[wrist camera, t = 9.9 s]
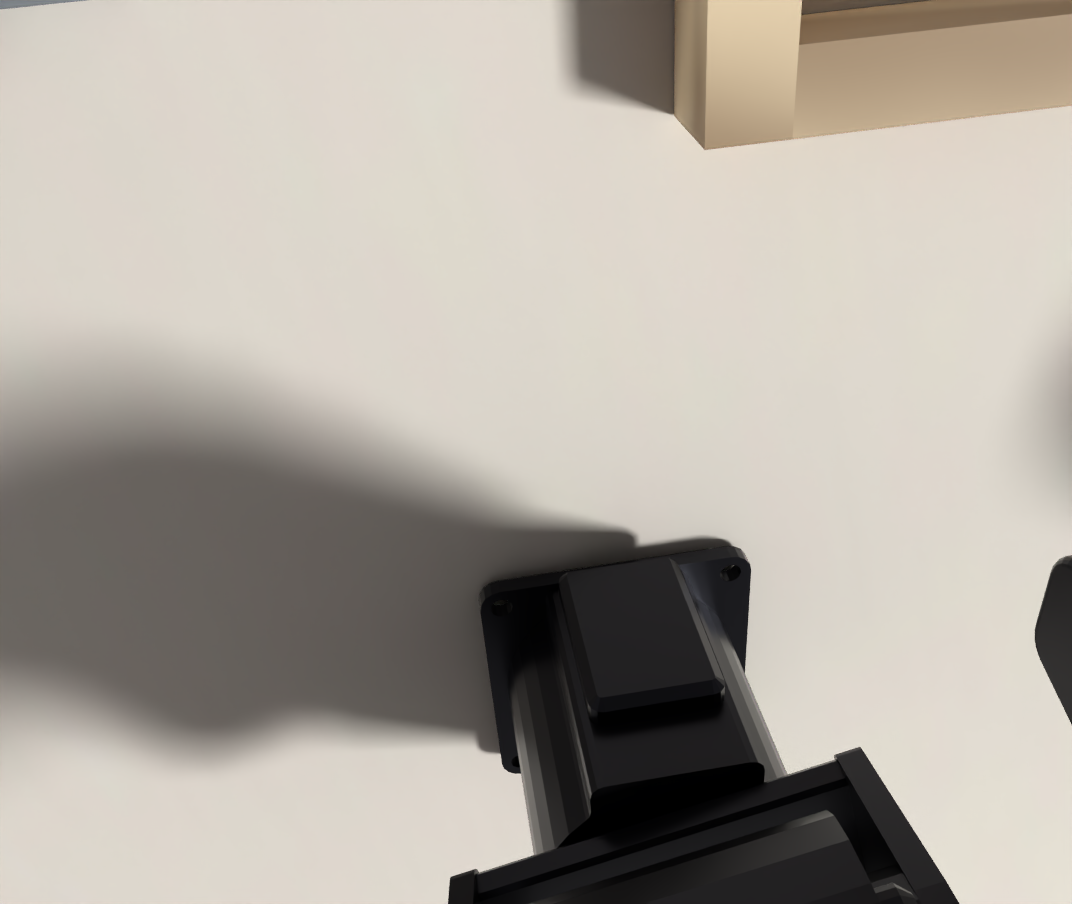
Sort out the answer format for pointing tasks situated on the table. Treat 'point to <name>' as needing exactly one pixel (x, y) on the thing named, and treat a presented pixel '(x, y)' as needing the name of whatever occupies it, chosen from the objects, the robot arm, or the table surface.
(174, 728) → the table surface
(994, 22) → the pocket frame
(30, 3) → the coaster
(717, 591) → the robot arm
